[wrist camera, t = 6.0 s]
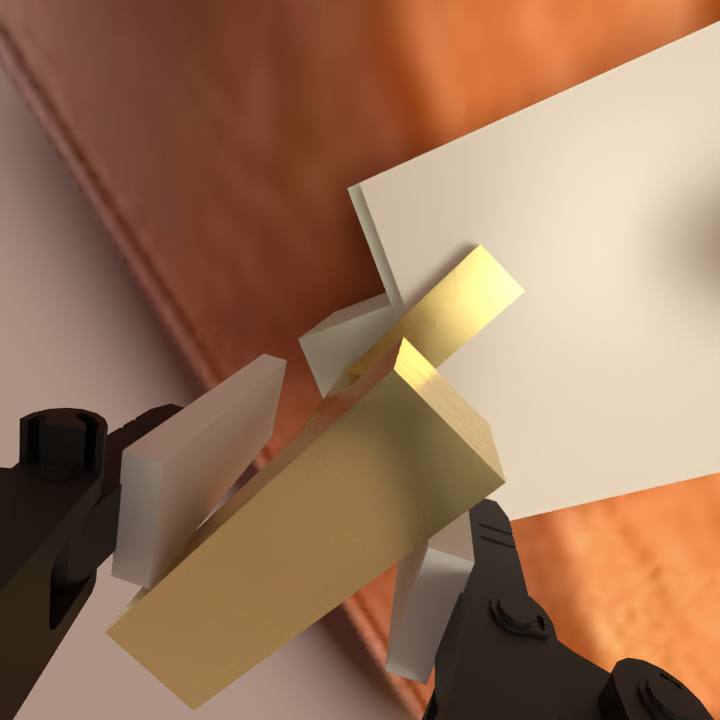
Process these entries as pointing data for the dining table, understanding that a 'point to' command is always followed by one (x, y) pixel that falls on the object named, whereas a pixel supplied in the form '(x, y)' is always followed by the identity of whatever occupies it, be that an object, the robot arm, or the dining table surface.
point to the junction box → (355, 312)
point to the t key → (330, 499)
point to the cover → (583, 276)
